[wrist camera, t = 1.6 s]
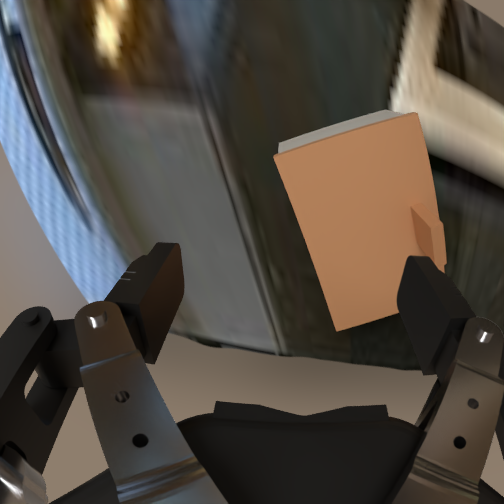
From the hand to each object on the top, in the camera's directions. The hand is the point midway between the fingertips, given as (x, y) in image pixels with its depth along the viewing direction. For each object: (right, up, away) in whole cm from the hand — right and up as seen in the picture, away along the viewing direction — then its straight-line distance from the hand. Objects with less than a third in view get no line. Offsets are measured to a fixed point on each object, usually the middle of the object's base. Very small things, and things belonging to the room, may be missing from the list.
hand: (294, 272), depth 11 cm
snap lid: (+11, +3, +20) cm, 23 cm away
